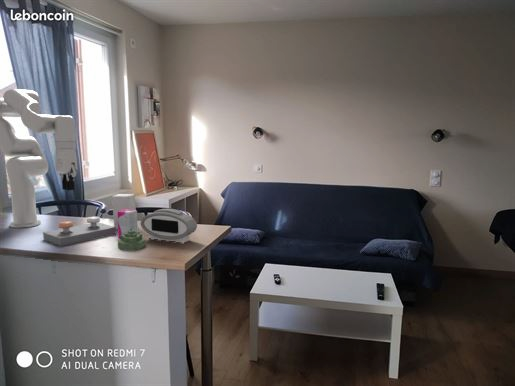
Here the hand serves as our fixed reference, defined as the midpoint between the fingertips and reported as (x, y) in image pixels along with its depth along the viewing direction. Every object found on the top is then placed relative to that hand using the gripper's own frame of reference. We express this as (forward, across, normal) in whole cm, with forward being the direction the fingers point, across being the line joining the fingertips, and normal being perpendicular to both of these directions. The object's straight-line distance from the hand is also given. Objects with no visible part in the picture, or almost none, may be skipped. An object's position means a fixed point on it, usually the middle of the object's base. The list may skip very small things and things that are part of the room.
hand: (68, 189), depth 174 cm
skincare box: (+19, +10, +20) cm, 30 cm away
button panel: (+19, +8, 0) cm, 21 cm away
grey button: (+17, +8, +6) cm, 20 cm away
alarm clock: (+19, +39, +21) cm, 48 cm away
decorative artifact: (+20, +35, +6) cm, 41 cm away
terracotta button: (+17, +8, -6) cm, 20 cm away
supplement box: (+19, +24, +12) cm, 33 cm away
